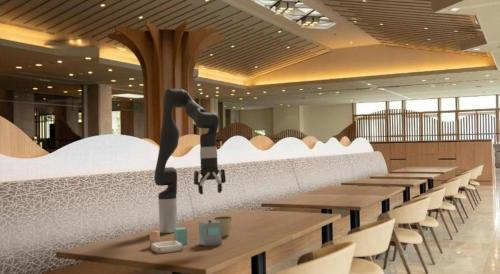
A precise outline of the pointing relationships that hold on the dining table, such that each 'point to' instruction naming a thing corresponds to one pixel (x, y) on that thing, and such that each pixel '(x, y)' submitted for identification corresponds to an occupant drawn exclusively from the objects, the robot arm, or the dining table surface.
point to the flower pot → (224, 224)
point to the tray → (167, 246)
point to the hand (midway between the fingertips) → (210, 193)
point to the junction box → (210, 233)
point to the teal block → (181, 235)
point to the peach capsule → (154, 236)
